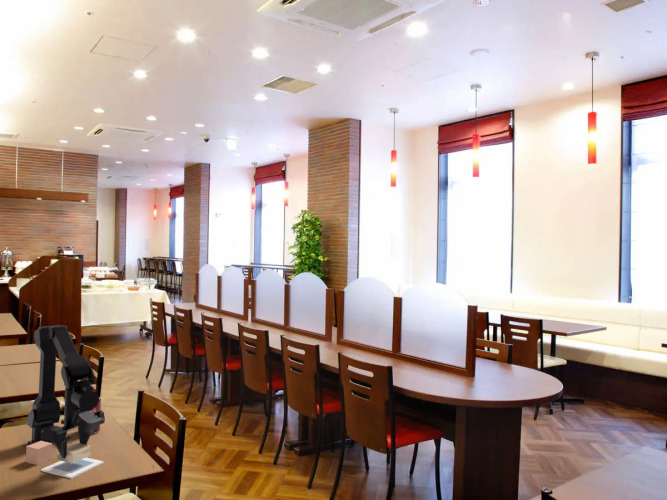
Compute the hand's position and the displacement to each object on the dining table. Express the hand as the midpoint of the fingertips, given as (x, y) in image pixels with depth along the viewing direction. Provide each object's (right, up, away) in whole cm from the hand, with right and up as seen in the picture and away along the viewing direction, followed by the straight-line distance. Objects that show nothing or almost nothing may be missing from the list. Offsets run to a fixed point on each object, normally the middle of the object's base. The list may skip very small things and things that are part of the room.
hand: (73, 454), depth 155 cm
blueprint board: (0, -4, 0) cm, 4 cm away
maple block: (0, -1, 0) cm, 1 cm away
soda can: (-9, -4, +29) cm, 31 cm away
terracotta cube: (-13, -4, +4) cm, 14 cm away
